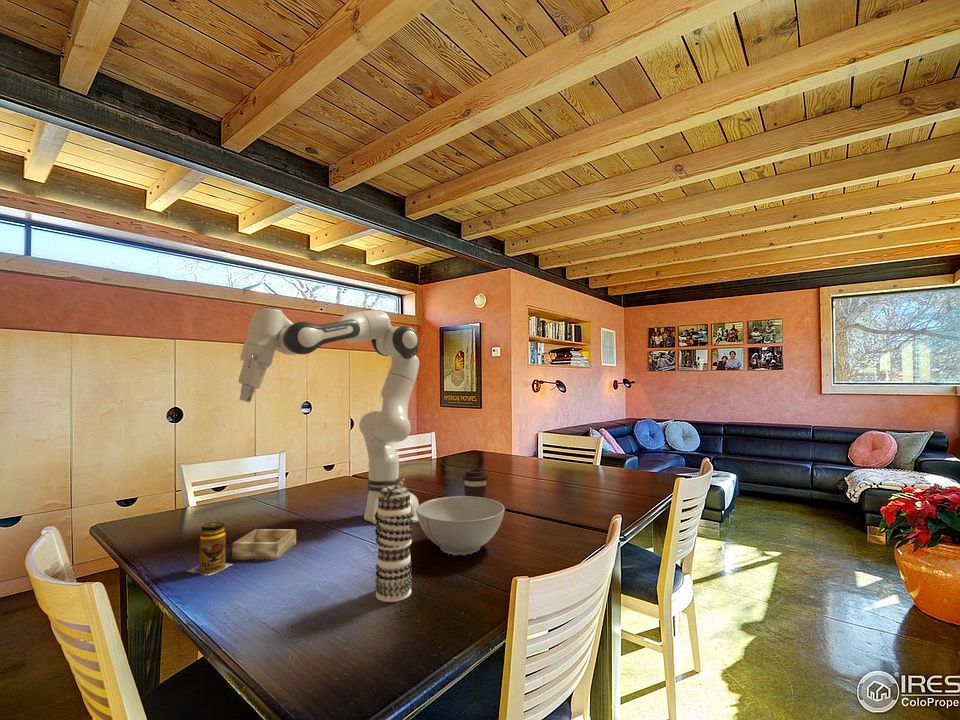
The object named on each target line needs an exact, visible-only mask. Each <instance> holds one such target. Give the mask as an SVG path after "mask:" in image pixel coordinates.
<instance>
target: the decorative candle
mask: <svg viewBox="0 0 960 720" xmlns="http://www.w3.org/2000/svg"><path fill="white" fill-rule="evenodd" d="M411 493H412V492H411V491H409V489H408V488H407V486H405V485H404V486H402V485H390V486H386V487H384V488H382V490H381V491H380V492H379V493H378V494H377V496H379V504H378V512H376V514H375V520H377V521H376V524H374V527H375V530H374V532H375V537H376V538H375V542H376V543H375V547H377V561H376V562H377V563H376V564H375V570H376V571H375V576H376V578H375V597H376V598H377V599H378V600H379V601H381V602H385V603H386V602H387V603H395V602H400V601H405V600H406V599H407V598H409V597H410V596H411V595H412V585H413V584H412V580H413V577H412V574H411V573H412V572H413V571H412V570H413V569H412V565H413V563H412V561H411V544H412V543H413V540H412V538H413V535H412V534H411V533H412V532H413V528H412V527H410V526H411V525H413V523H414V522H413V520H412V519H410V518H411V517H413V513H411V505H410V494H411ZM377 515H378V516H379V517H378V516H377Z"/></svg>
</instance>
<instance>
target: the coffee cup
mask: <svg viewBox="0 0 960 720" xmlns="http://www.w3.org/2000/svg"><path fill="white" fill-rule="evenodd" d="M462 480H463V481H464V483H463V486H464V487H463V488H464V489H463V491H464V496H472V497H482V498H487V487H488V486H487V480H489V475H488V474H487V473H485V471H484V470H482V469H477V468H476V469H469V470H466V472H465V473H464V474H463V475H462Z"/></svg>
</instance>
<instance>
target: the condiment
mask: <svg viewBox="0 0 960 720" xmlns="http://www.w3.org/2000/svg"><path fill="white" fill-rule="evenodd" d="M200 533H201V535H200V537H199V555H198V557H199V561H198V566H199V571H200V573H203V574H204V575H203V574H201V575H203V576H212V575H216V574H217V573H219V572H221V571H223V570H225V569H227V568H229V567H230V566H231V567H232V566H233V565H234V564H233V563H227V562H226V541H227V540H226V539H227V538H226V537H227V534H226V532H225V523H224V522H223V521H212V522H208V523H205V524H203V525H202V526H201V532H200ZM195 567H196V568H198V567H197V566H195ZM195 567H192V568H191V569H188V570H186V572H189V573H193V574H196V573H195V572H197V571H196V568H195ZM194 568H195V569H194ZM208 573H210V574H208ZM207 574H208V575H207Z"/></svg>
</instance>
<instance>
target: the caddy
mask: <svg viewBox="0 0 960 720" xmlns="http://www.w3.org/2000/svg"><path fill="white" fill-rule="evenodd" d="M295 545H297V529H293V528H292V529H291V528H289V529H287V528H286V529H283V528H281V529H280V528H277V529H275V528H274V529H273V528H269V529H268V528H264V529H263V528H255V529H253V530H251V531H249V532H248V533H247V534H245V535H244V536H242V537H240V538H239V539H237V540H235V541H234V542H232V552H231V553H232V555H231V556H232V557H231V558H232V559H231V560H249V559H251V560H253V559H255V561H256V560H258V561H259V560H261V561H262V560H264V559H266V560H265V561H268V560H269V559H270V560H269V561H272V560H273V561H274V560H279V559H280V558H281V557H282V556H284V555H285V554H287V553H288V552H289V551H290V550H291V549H292V548H293V547H294V546H295ZM283 554H284V555H283ZM253 561H254V560H253Z"/></svg>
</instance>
